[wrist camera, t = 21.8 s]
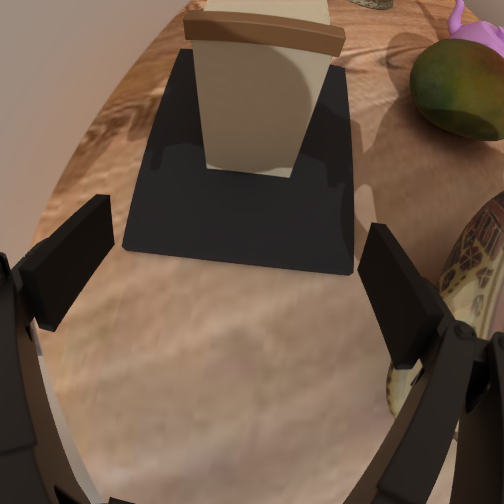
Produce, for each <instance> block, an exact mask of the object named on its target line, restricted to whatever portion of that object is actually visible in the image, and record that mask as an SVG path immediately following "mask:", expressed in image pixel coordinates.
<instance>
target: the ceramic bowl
mask: <svg viewBox="0 0 504 504" xmlns="http://www.w3.org/2000/svg"><path fill="white" fill-rule="evenodd" d="M436 289H437V290H438V292H439V294H440V295H441V297H442V298H443V301H445V303H446V305H447V306H448V308H449V309H450V311H451V313H452V314H453V316H454V318H455V319H456V320H461V321H463V322H466V323H467V324H469V325H470V326H471V327H472V328H473V329H474V330H475V332H476V334H477V337H478V338H481V339H485V340H490V338H491V337H492V335H493V334H494V333H495V332H498V331H499V332H503V333H504V191H502V192H501V193H499V194H498V195H497V196H495V197H494V198H492V199H491V200H490V201H488V202H487V203H486V204H485V205H484V206H483V207H482V208H481V209H480V210H479V211H478V212H477V213H476V215H475V216H474V217H473V218H472V219H471V221H470V222H469V223H468V225H467V226H466V227H465V229H464V230H463V232H462V234H461V235H460V237H459V238H458V240H457V242H456V243H455V245H454V247H453V249H452V251H451V253H450V255H449V257H448V259H447V261H446V263H445V266H444V268H443V271H442V273H441V275H440V278H439V282H438V285H437V288H436ZM421 368H422V364H421V361H420V359H418V361H417V363H416V364H415V366H414V367H413V369H409V370H395V368H394V365H393V362H392V359H391V363H390V367H389V371H388V375H387V380H386V399H387V402H388V406H389V410H390V412H391V414H392V416H393V417H394V418H395V419H396V418H397V416H398V414H399V412H400V410H401V408H402V406H403V404H404V402H405V400H406V398H407V396H408V394H409V392H410V390H411V388H412V386H411V385H410V384H411V382H412V381H413V380H414V378H415V377H416V375H417V374H418V372H419V371H420V369H421ZM458 427H459V420H458V423H457V427H456V430H455V433H454V436H453V438H454V439H455V440H456V441H457V442H458Z"/></svg>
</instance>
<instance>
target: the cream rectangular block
mask: <svg viewBox="0 0 504 504" xmlns="http://www.w3.org/2000/svg"><path fill="white" fill-rule="evenodd" d="M183 22H184V31H185V39H186V40H192V46H193V56H194V65H195V75H196V84H197V92H198V101H199V110H200V118H201V126H202V134H203V142H204V150H205V157H206V165H207V168H208V169H219V170H229V171H238V172H247V173H256V174H264V175H272V176H280V177H287V178H289V177H290V175H291V172H292V169H293V167H294V164H295V161H296V158H297V155H298V153H299V150H300V147H301V144H302V141H303V139H304V136H305V133H306V130H307V127H308V125H309V122H310V119H311V116H312V113H313V111H314V108H315V105H316V102H317V99H318V96H319V94H320V91H321V88H322V85H323V82H324V79H325V77H326V74H327V71H328V68H329V65H330V62H331V60H332V57H333V56H334V57H339V56H340V53H341V50H342V47H343V45H344V42H345V39H346V37H345V31H344V29H343V28H340V27H336V26H331V25H330V19H329V11H328V4H327V0H207V3H206V5H205V7H204V9H203V11H187V13H186V15H185V17H184V20H183Z"/></svg>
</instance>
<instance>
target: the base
mask: <svg viewBox="0 0 504 504" xmlns="http://www.w3.org/2000/svg"><path fill="white" fill-rule="evenodd" d="M122 247H123V248H124V249H125V250H128V251H136V252H144V253H152V254H160V255H168V256H177V257H185V258H194V259H202V260H211V261H219V262H228V263H237V264H246V265H255V266H264V267H273V268H282V269H291V270H300V271H309V272H319V273H328V274H338V275H350V274H352V273H353V270H354V184H353V159H352V142H351V127H350V114H349V103H348V93H347V83H346V75H345V68H342V67H338V66H333V65H329V68H328V71H327V74H326V77H325V79H324V82H323V85H322V88H321V91H320V94H319V96H318V99H317V102H316V105H315V108H314V111H313V113H312V116H311V119H310V122H309V125H308V127H307V130H306V133H305V136H304V139H303V141H302V144H301V147H300V150H299V153H298V155H297V158H296V161H295V164H294V167H293V169H292V172H291V175H290V177H289V178H287V177H280V176H272V175H264V174H256V173H247V172H238V171H229V170H219V169H208V168H207V165H206V157H205V150H204V142H203V134H202V126H201V118H200V110H199V101H198V92H197V84H196V75H195V65H194V56H193V49H180V51H179V54H178V56H177V59H176V61H175V64H174V67H173V69H172V72H171V74H170V77H169V80H168V82H167V85H166V88H165V91H164V94H163V96H162V99H161V102H160V105H159V108H158V111H157V114H156V117H155V120H154V123H153V126H152V130H151V133H150V136H149V139H148V143H147V146H146V149H145V153H144V156H143V160H142V163H141V167H140V171H139V174H138V178H137V182H136V186H135V190H134V194H133V198H132V202H131V206H130V210H129V215H128V219H127V224H126V228H125V233H124V238H123V243H122Z"/></svg>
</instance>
